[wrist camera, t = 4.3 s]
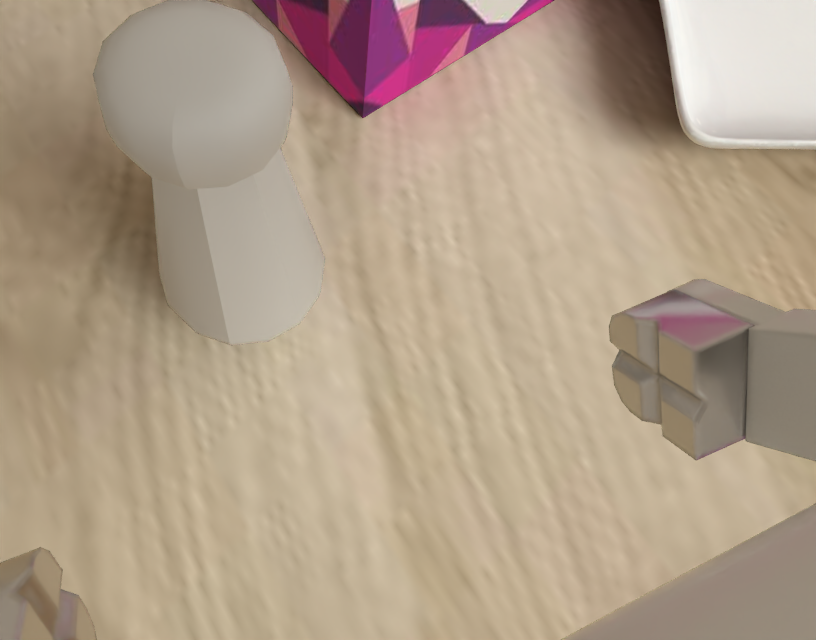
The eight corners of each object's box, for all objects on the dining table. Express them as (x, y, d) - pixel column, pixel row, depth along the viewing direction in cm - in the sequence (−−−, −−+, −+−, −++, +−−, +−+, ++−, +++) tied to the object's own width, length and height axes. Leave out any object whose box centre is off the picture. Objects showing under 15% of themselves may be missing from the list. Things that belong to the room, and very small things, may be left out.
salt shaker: (143, 291, 26) (-20, 39, 14) (254, 202, 28) (197, -87, 16) (247, 393, 25) (169, 219, 13) (355, 294, 27) (377, 61, 15)
